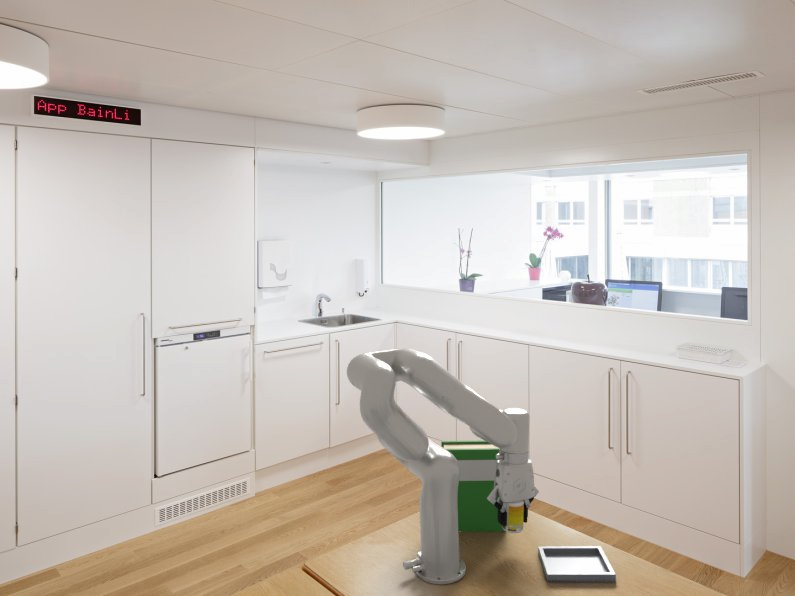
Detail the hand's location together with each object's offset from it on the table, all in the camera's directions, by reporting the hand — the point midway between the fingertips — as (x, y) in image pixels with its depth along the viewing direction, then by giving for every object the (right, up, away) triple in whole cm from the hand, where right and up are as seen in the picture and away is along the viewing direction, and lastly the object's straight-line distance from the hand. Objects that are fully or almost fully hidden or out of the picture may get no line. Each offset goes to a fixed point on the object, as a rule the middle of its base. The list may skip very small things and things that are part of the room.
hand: (512, 521), depth 157 cm
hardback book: (-8, -7, +15) cm, 18 cm away
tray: (+14, -8, -9) cm, 18 cm away
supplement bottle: (0, -2, 0) cm, 2 cm away
